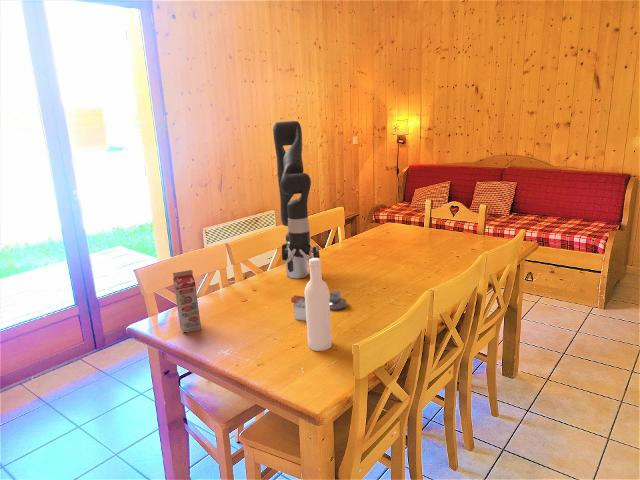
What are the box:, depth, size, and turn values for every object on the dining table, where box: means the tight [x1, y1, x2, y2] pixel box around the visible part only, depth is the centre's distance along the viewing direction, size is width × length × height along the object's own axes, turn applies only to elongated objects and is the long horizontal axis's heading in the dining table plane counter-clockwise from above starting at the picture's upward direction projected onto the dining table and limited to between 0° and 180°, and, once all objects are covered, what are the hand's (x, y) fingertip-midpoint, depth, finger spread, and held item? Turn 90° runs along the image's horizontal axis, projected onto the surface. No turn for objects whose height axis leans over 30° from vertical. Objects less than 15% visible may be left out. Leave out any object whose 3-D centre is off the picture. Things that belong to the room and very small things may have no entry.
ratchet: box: [290, 290, 348, 312], centre depth 194 cm, size 23×8×6 cm, turn 64°
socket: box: [293, 299, 307, 322], centre depth 182 cm, size 6×6×6 cm
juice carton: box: [172, 269, 202, 334], centre depth 177 cm, size 7×7×22 cm
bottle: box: [304, 258, 333, 352], centre depth 157 cm, size 8×8×30 cm
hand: (301, 272), depth 178 cm, fingers open, 8 cm apart
